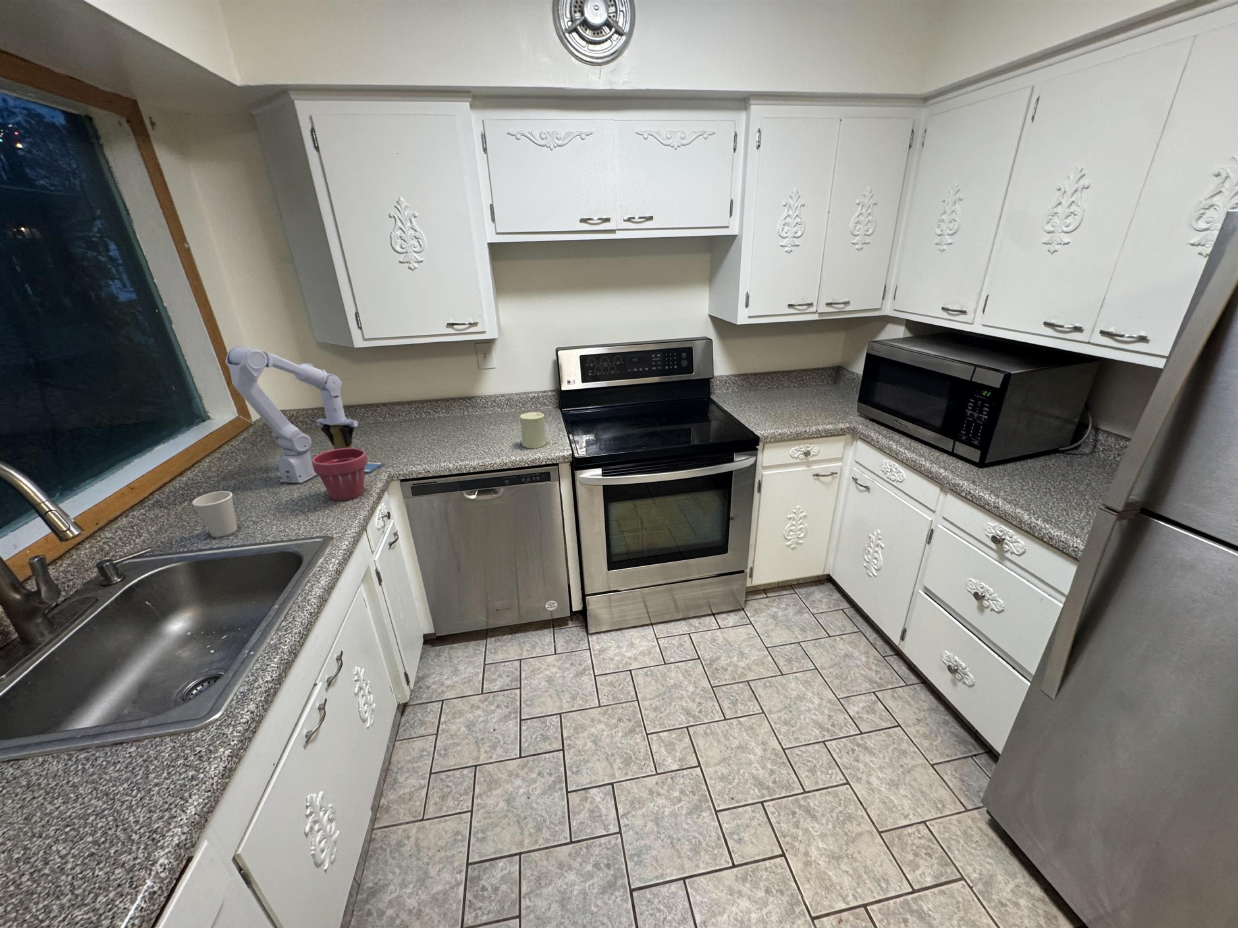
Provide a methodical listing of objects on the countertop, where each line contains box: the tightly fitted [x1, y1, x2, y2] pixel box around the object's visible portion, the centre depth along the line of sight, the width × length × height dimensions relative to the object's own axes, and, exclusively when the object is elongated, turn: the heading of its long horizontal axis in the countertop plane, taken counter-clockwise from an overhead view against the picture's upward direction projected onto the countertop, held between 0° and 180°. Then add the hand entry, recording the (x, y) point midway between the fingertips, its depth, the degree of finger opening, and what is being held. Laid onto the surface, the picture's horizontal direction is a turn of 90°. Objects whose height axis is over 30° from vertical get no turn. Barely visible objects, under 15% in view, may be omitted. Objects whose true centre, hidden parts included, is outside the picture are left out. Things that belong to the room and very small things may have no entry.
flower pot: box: [311, 447, 368, 501], centre depth 153 cm, size 14×14×13 cm
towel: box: [364, 461, 384, 474], centre depth 174 cm, size 8×9×1 cm
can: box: [519, 411, 547, 449], centre depth 193 cm, size 9×9×12 cm
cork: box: [330, 425, 353, 450], centre depth 178 cm, size 6×6×11 cm
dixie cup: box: [191, 490, 238, 538], centre depth 132 cm, size 8×8×10 cm
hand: (342, 445), depth 179 cm, fingers closed on cork, 5 cm apart
